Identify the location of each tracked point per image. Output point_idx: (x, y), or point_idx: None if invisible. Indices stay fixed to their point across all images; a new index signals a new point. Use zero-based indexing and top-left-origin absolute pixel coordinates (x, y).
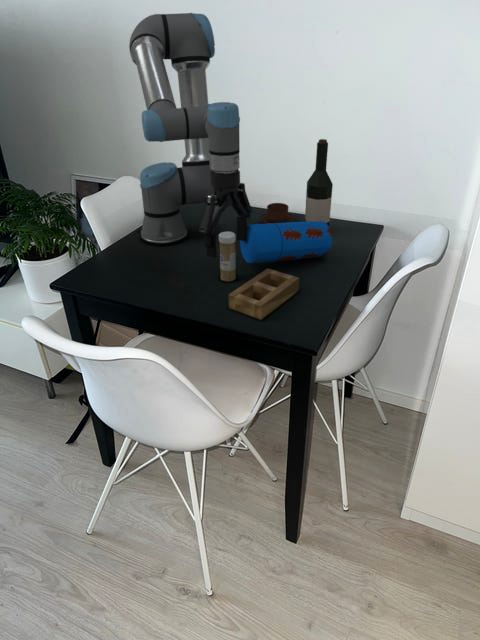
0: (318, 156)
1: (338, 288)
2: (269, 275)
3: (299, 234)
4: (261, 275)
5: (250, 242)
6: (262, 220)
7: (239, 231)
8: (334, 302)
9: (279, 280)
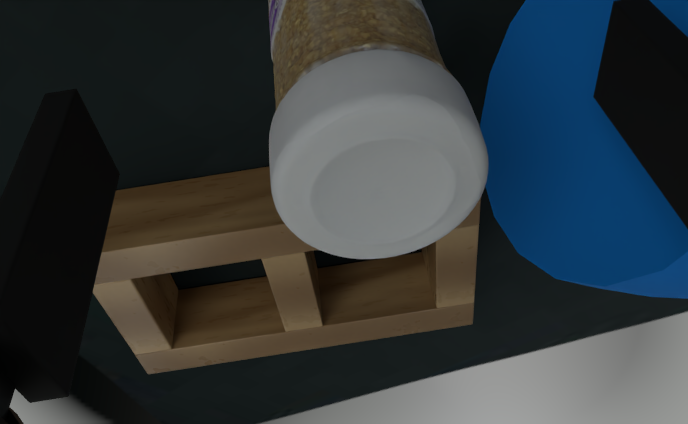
0: None
1: (560, 326)
2: None
3: None
4: None
5: (588, 150)
6: None
7: (658, 90)
8: (454, 362)
9: (430, 253)
